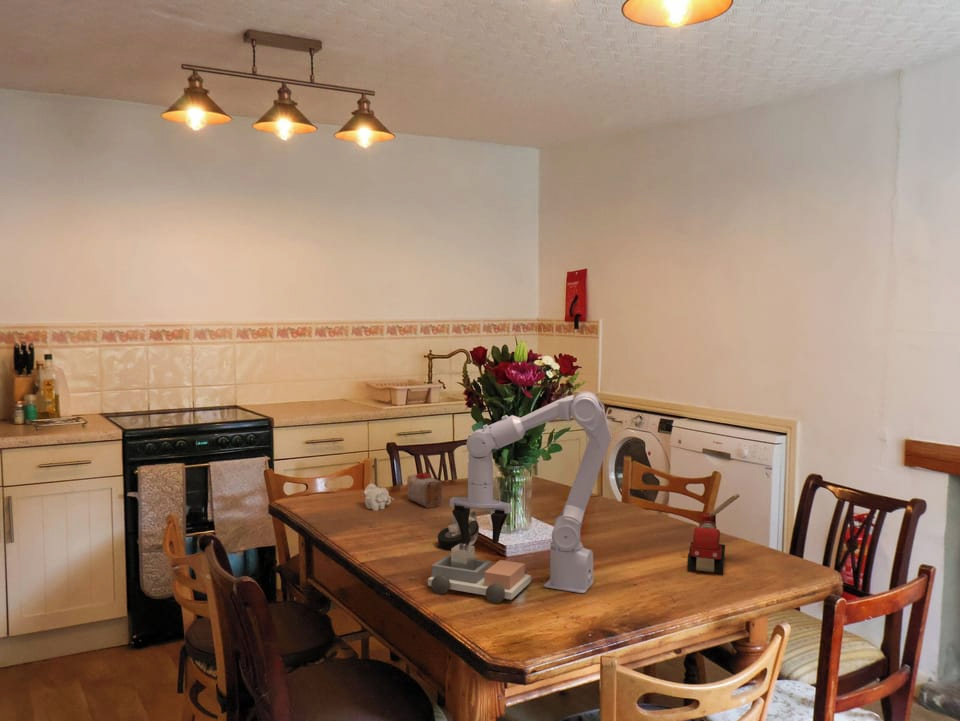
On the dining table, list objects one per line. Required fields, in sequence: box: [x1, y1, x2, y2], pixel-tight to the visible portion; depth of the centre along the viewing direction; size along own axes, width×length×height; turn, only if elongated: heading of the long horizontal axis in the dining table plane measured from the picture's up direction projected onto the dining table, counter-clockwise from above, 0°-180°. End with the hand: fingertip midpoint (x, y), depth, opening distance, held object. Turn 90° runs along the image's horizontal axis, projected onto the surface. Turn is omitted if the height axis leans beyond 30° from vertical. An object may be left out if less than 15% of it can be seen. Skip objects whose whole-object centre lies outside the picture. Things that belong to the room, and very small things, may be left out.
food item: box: [406, 471, 443, 509], centre depth 257 cm, size 14×8×10 cm, turn 33°
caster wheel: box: [437, 510, 480, 551], centre depth 214 cm, size 7×12×10 cm
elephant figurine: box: [364, 483, 395, 512], centre depth 250 cm, size 8×10×7 cm
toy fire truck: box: [686, 493, 741, 575], centre depth 199 cm, size 11×16×18 cm
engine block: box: [450, 543, 476, 570], centre depth 184 cm, size 4×4×7 cm
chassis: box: [427, 554, 532, 605], centre depth 182 cm, size 20×14×6 cm
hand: (480, 540), depth 187 cm, fingers open, 7 cm apart
